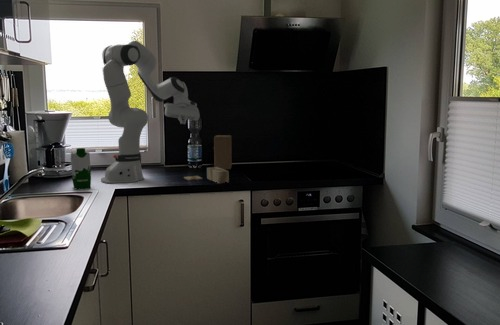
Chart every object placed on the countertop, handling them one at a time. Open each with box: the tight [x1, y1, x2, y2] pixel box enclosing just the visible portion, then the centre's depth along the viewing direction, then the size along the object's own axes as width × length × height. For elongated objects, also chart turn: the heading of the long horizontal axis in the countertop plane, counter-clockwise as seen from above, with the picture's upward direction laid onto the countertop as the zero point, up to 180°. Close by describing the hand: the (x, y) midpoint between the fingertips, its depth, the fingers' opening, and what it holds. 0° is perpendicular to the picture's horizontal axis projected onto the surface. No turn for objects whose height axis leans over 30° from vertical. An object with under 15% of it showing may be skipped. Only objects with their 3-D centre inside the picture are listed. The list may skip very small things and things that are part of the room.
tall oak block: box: [206, 166, 230, 184], centre depth 263 cm, size 6×6×16 cm
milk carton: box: [70, 147, 92, 190], centre depth 244 cm, size 9×9×20 cm
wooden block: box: [213, 134, 233, 170], centre depth 301 cm, size 10×10×20 cm
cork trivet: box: [183, 175, 203, 181], centre depth 269 cm, size 8×8×1 cm
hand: (183, 123), depth 280 cm, fingers closed
